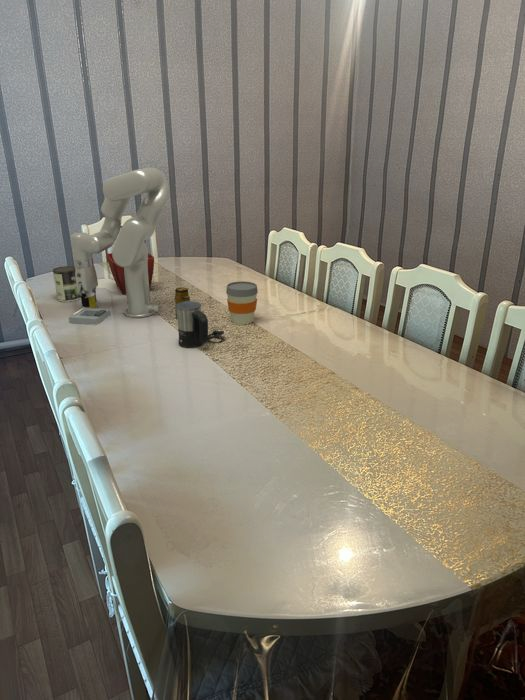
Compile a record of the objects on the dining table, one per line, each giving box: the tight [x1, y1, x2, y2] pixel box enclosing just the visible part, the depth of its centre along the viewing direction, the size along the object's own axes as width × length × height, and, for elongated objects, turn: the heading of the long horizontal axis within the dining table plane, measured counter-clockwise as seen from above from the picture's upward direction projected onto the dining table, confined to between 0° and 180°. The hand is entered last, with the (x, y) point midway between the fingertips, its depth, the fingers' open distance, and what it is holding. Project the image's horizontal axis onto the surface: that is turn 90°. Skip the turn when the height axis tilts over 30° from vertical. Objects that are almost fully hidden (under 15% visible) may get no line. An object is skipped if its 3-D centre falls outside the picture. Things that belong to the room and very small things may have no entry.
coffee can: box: [52, 265, 81, 303], centre depth 236 cm, size 10×10×14 cm
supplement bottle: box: [82, 289, 98, 309], centre depth 223 cm, size 5×5×10 cm
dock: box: [68, 307, 111, 325], centre depth 213 cm, size 12×12×3 cm
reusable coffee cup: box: [225, 280, 259, 325], centre depth 208 cm, size 13×12×15 cm
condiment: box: [171, 287, 191, 320], centre depth 213 cm, size 7×8×12 cm
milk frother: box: [176, 300, 225, 348], centre depth 189 cm, size 14×16×15 cm
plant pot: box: [106, 252, 155, 295], centre depth 248 cm, size 19×19×17 cm
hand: (89, 303), depth 224 cm, fingers closed on supplement bottle, 5 cm apart
